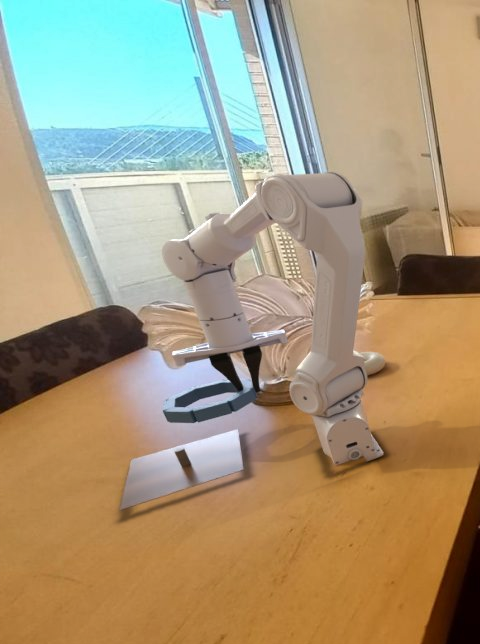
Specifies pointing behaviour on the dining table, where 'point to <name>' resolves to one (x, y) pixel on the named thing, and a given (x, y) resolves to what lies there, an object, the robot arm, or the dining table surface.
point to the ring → (180, 413)
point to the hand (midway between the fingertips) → (250, 392)
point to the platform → (181, 468)
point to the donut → (373, 362)
